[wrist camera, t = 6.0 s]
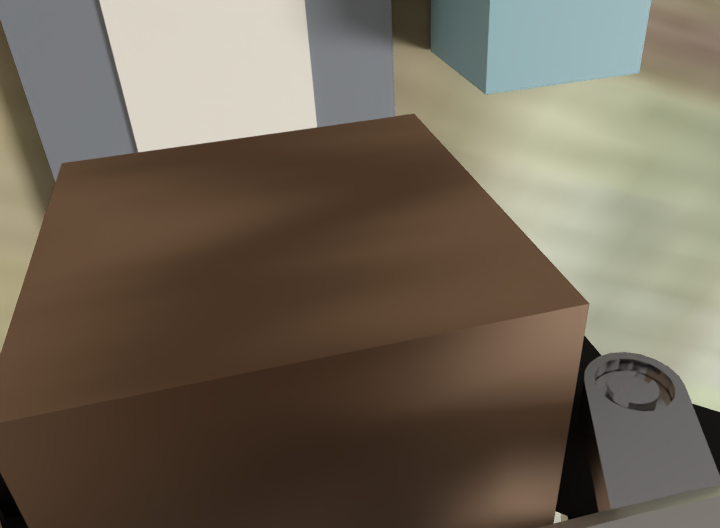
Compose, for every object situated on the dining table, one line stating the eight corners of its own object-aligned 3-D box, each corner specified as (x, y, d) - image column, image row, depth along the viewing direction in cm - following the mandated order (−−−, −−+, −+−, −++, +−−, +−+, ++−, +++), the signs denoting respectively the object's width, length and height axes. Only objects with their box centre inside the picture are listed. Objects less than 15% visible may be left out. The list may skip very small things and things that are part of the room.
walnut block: (414, 113, 12) (589, 304, 7) (416, 368, 15) (536, 619, 10) (61, 163, 11) (-23, 427, 6) (144, 425, 14) (135, 736, 9)
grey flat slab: (378, -169, 24) (387, -169, 23) (392, 205, 32) (399, 217, 31) (-45, -139, 21) (-55, -138, 20) (86, 257, 30) (84, 271, 29)
